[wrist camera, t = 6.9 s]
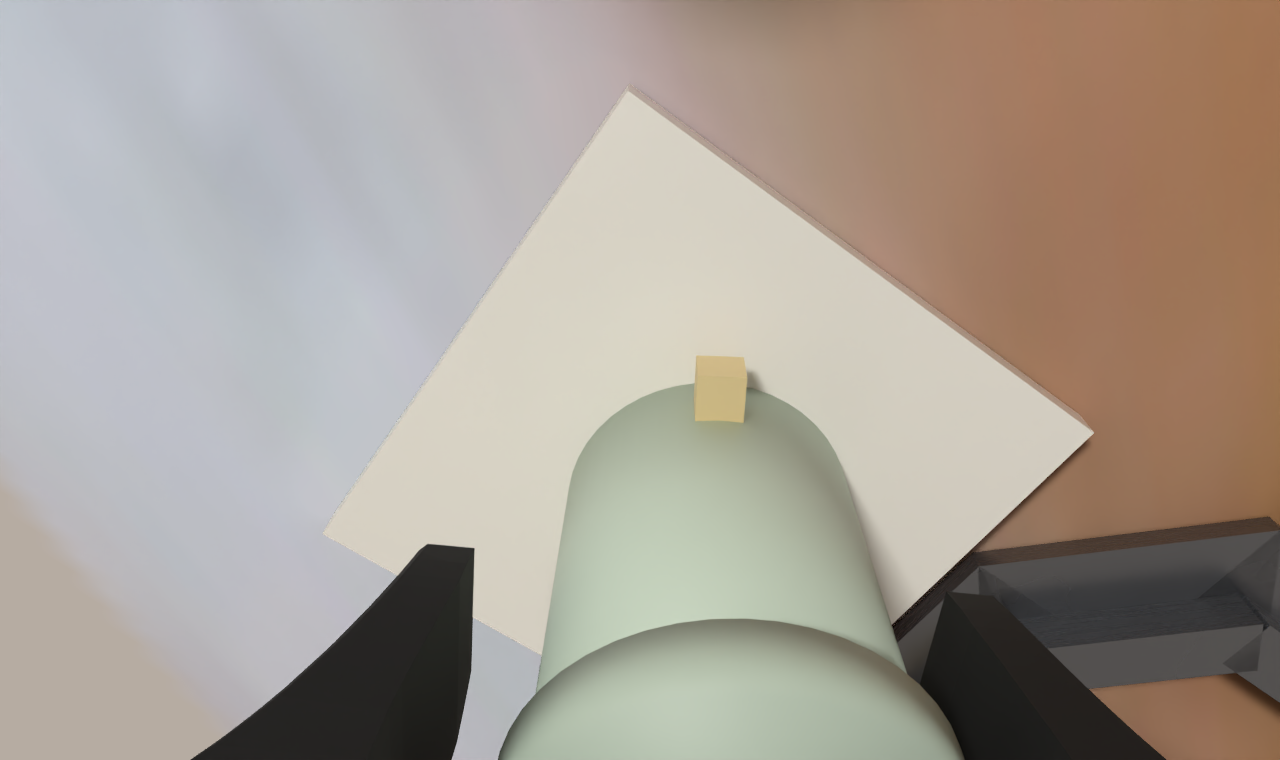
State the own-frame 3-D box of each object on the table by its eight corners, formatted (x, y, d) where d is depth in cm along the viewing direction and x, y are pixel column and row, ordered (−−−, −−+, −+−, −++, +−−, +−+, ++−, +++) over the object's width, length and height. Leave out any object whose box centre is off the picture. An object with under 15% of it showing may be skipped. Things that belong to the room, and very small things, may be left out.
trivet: (1079, 414, 16) (1094, 432, 16) (739, 743, 19) (742, 766, 19) (629, 83, 14) (627, 90, 13) (333, 514, 17) (322, 533, 17)
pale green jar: (842, 654, 18) (942, 1072, 11) (551, 644, 18) (489, 1054, 11) (888, 347, 15) (1050, 666, 9) (547, 335, 15) (465, 644, 9)
